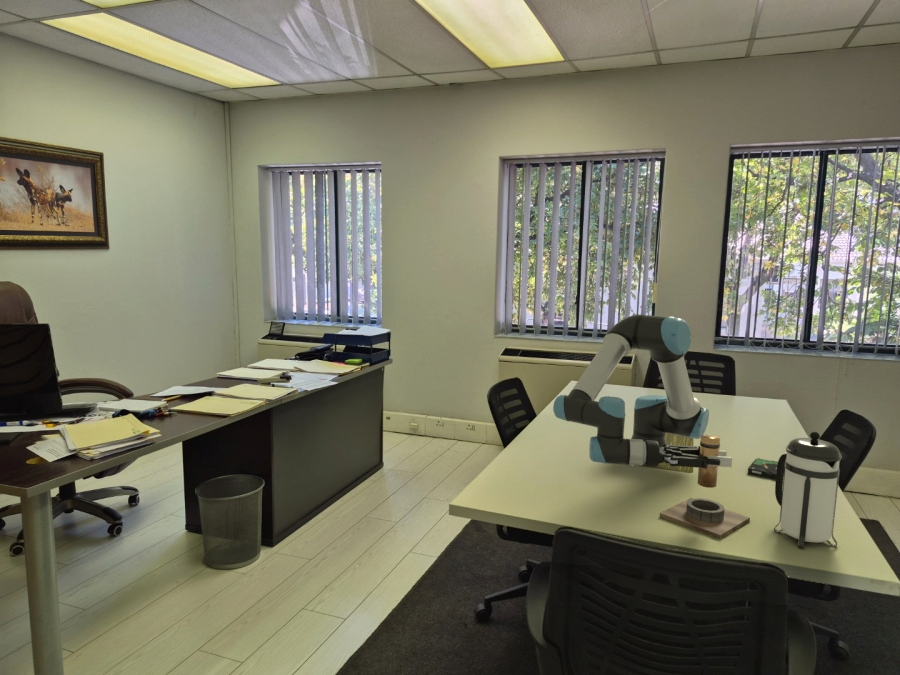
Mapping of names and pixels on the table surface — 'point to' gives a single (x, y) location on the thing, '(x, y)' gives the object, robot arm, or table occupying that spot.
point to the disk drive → (763, 468)
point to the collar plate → (705, 526)
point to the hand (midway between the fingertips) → (728, 458)
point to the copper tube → (710, 448)
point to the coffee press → (808, 489)
